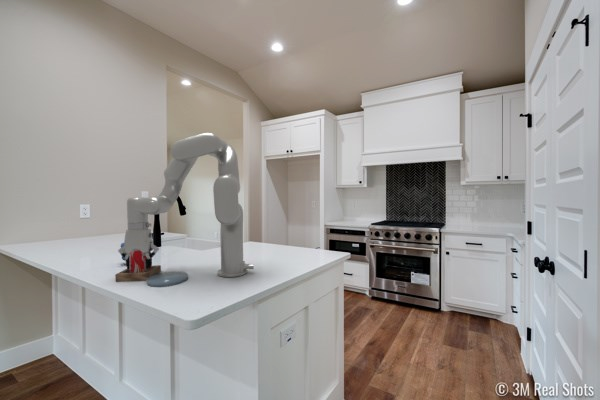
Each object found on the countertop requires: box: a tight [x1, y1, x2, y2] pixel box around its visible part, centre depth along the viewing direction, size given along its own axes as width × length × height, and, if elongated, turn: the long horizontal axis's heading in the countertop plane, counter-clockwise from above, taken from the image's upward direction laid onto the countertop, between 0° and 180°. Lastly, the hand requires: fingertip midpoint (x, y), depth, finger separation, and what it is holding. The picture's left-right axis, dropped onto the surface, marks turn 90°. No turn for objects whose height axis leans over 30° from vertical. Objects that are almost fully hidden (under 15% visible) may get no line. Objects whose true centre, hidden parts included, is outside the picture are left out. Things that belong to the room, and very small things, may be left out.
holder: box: [114, 264, 162, 283], centre depth 116 cm, size 12×12×3 cm
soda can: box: [129, 250, 149, 273], centre depth 116 cm, size 7×7×12 cm
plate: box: [146, 271, 189, 288], centre depth 110 cm, size 15×15×2 cm
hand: (139, 267), depth 116 cm, fingers closed on soda can, 7 cm apart
